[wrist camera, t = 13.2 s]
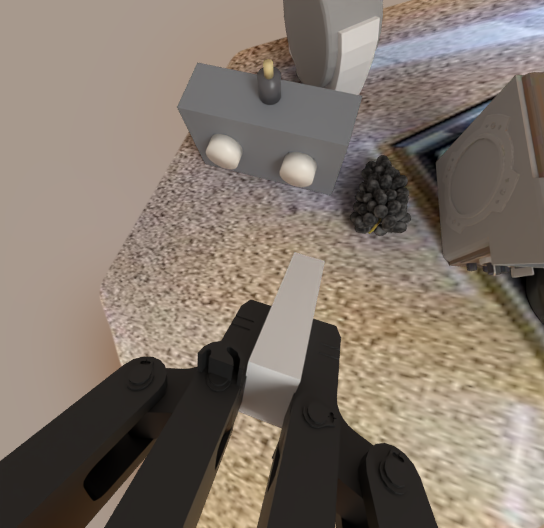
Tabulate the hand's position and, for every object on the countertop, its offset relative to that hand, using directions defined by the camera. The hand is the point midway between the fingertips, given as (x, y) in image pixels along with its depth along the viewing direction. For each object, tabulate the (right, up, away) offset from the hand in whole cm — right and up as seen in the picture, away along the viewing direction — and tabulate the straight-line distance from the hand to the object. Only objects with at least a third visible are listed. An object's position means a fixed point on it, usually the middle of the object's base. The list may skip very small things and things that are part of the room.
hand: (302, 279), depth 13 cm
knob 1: (-8, +20, +31) cm, 38 cm away
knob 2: (+3, +17, +30) cm, 34 cm away
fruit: (+16, +11, +32) cm, 38 cm away
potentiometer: (-2, +24, +23) cm, 33 cm away
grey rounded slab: (+8, +36, +38) cm, 53 cm away
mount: (-1, +20, +35) cm, 40 cm away
